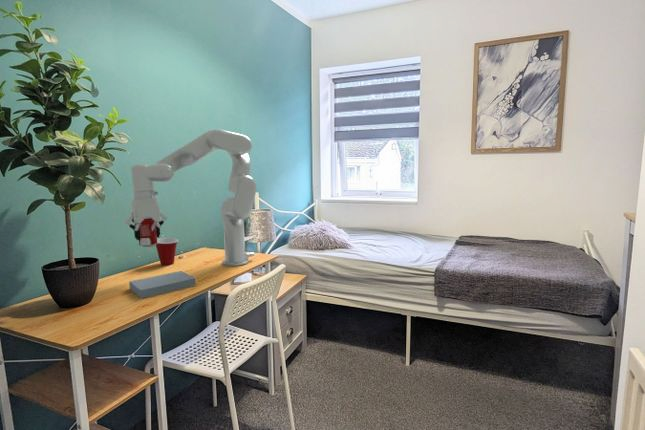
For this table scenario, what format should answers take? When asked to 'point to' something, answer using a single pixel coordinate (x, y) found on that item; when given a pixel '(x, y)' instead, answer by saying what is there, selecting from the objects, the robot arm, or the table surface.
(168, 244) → the plastic cup
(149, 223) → the soda can
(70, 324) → the table surface
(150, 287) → the block
